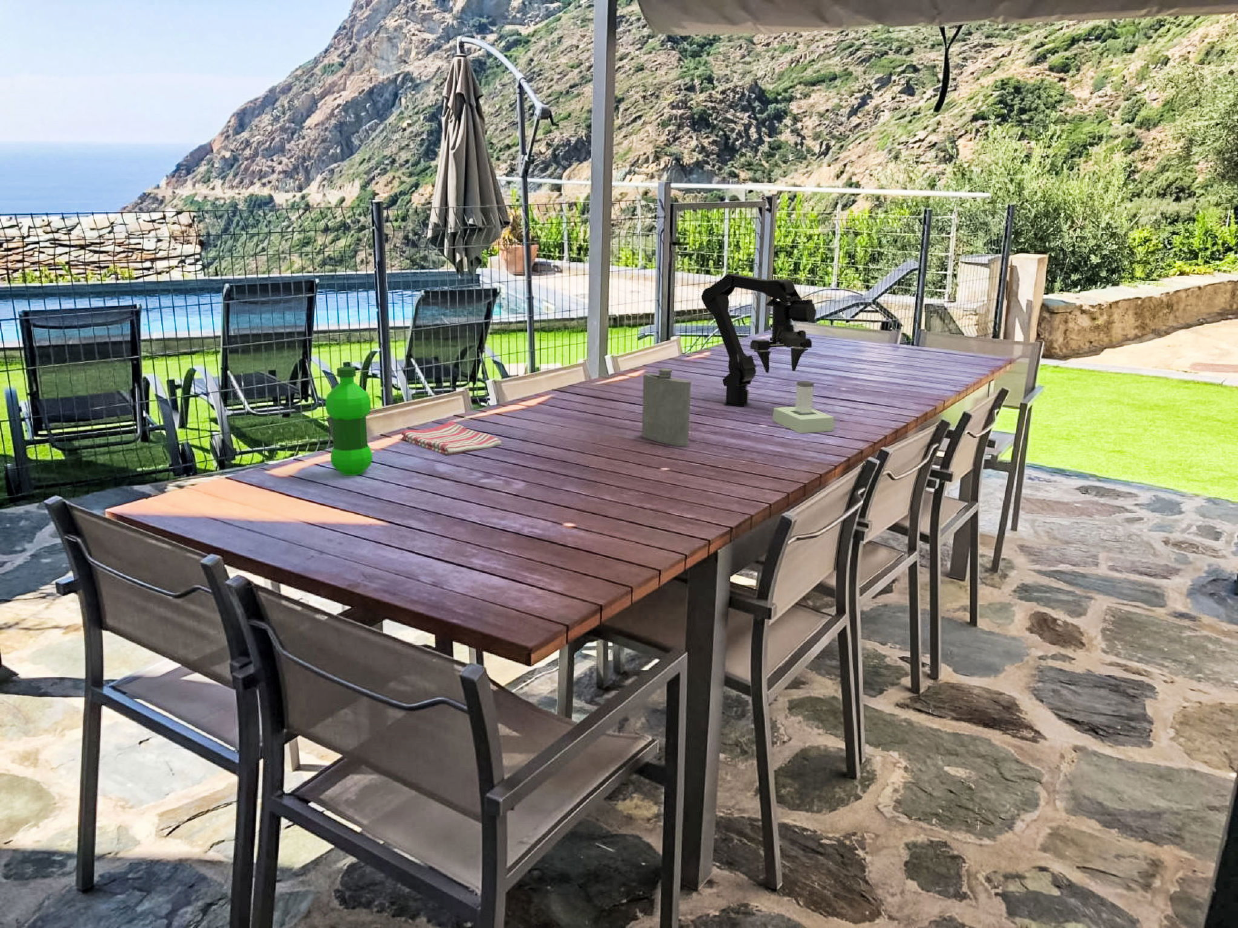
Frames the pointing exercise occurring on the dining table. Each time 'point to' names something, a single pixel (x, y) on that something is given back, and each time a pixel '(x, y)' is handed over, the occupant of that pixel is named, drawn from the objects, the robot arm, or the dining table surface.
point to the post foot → (803, 420)
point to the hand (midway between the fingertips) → (780, 371)
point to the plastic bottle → (349, 424)
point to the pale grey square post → (804, 398)
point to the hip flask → (666, 408)
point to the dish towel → (450, 439)
